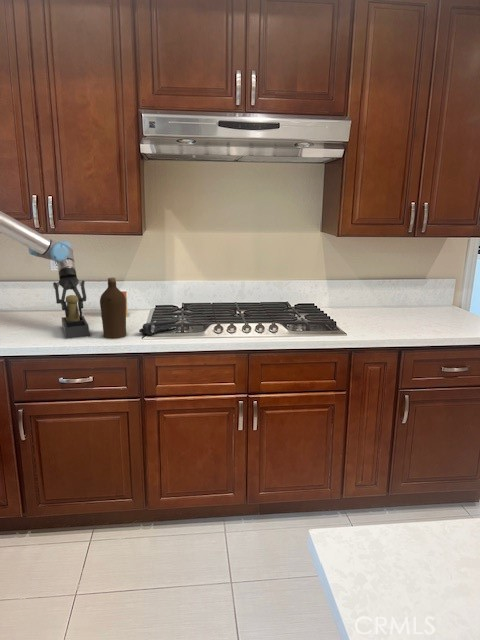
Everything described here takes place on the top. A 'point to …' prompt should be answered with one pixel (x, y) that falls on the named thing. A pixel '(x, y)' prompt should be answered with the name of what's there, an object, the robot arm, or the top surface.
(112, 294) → the olive oil
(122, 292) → the small box
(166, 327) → the can opener
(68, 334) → the dark grey hollow block
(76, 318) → the cork
